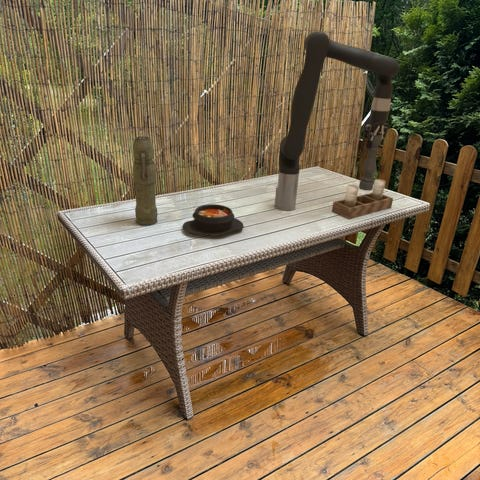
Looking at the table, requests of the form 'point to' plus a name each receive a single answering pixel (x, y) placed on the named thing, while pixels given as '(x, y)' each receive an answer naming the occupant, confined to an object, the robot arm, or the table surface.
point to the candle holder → (370, 164)
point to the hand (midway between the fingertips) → (373, 147)
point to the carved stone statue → (144, 181)
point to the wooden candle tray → (362, 201)
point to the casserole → (213, 221)
